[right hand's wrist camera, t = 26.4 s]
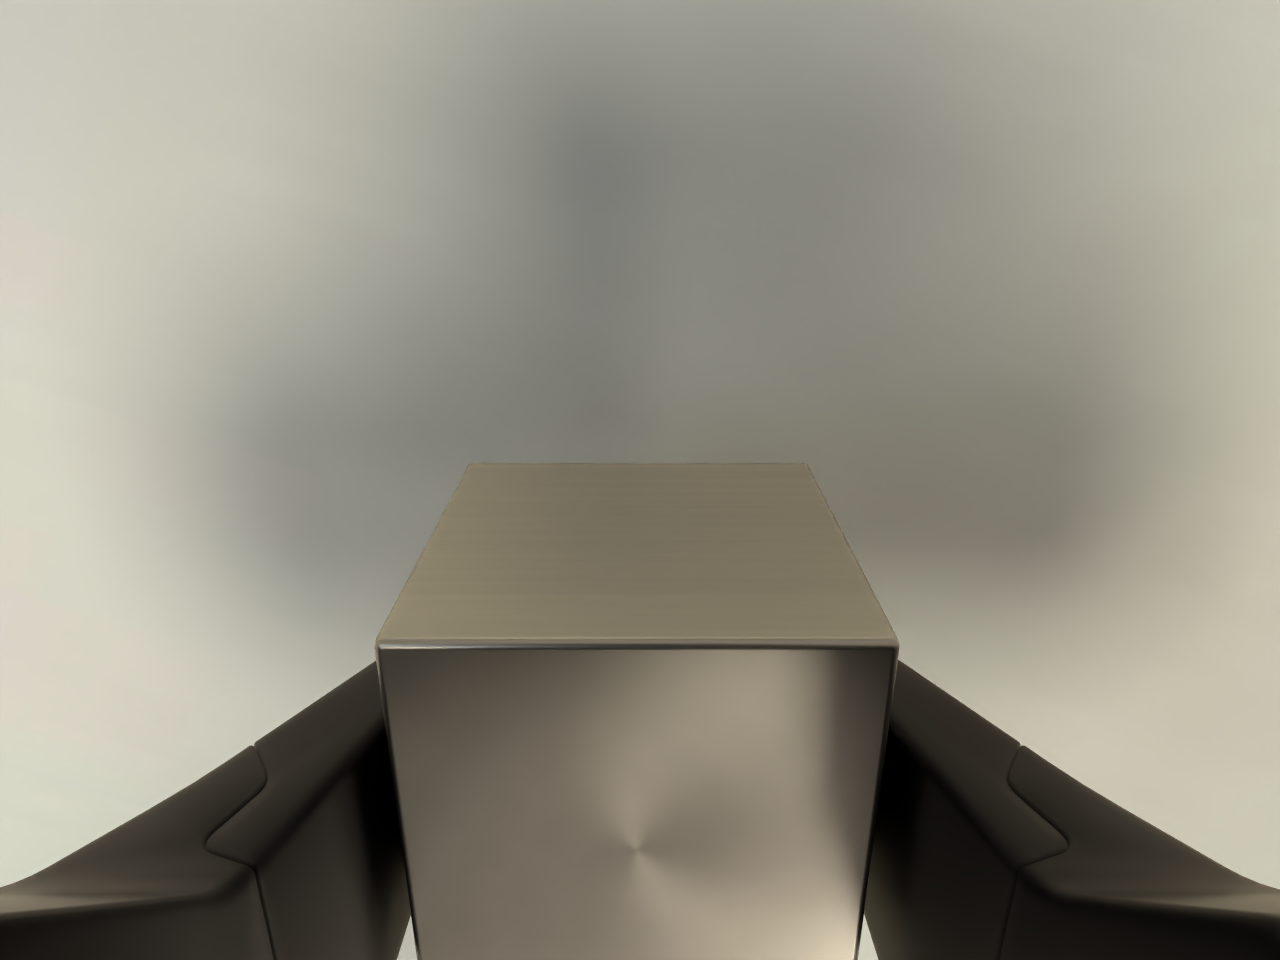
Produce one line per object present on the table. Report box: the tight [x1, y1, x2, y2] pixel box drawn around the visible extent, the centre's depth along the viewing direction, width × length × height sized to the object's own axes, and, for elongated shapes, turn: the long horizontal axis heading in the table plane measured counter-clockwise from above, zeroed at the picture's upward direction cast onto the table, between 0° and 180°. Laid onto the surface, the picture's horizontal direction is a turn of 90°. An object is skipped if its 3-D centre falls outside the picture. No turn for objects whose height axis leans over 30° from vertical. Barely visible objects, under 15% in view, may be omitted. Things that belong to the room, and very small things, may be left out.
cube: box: [374, 463, 900, 960], centre depth 10 cm, size 5×5×4 cm
